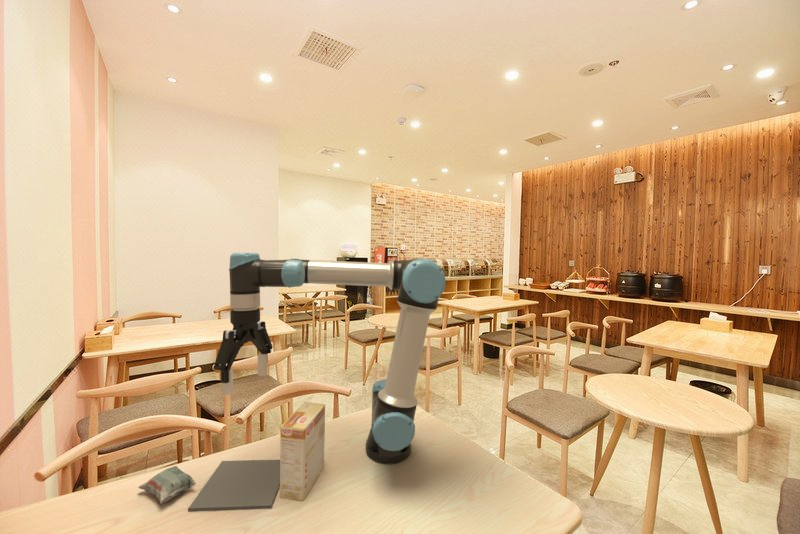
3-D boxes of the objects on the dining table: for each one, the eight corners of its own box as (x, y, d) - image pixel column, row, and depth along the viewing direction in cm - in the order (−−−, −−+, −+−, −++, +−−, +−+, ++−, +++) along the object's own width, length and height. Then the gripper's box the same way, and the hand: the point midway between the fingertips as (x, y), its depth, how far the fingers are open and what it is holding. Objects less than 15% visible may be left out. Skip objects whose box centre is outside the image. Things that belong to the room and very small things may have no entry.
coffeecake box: (303, 463, 103) (304, 401, 102) (325, 466, 102) (326, 403, 101) (278, 498, 88) (279, 425, 87) (303, 502, 87) (304, 428, 86)
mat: (289, 461, 103) (289, 459, 103) (271, 508, 84) (271, 505, 84) (222, 463, 102) (222, 460, 102) (188, 511, 83) (188, 508, 83)
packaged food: (160, 512, 82) (160, 493, 82) (137, 494, 88) (138, 475, 88) (196, 491, 90) (197, 473, 90) (173, 476, 96) (173, 459, 96)
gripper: (263, 301, 105) (264, 368, 106) (196, 315, 81) (197, 401, 82) (284, 302, 103) (284, 370, 104) (221, 317, 79) (222, 405, 80)
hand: (246, 384), depth 93 cm, fingers open, 13 cm apart
